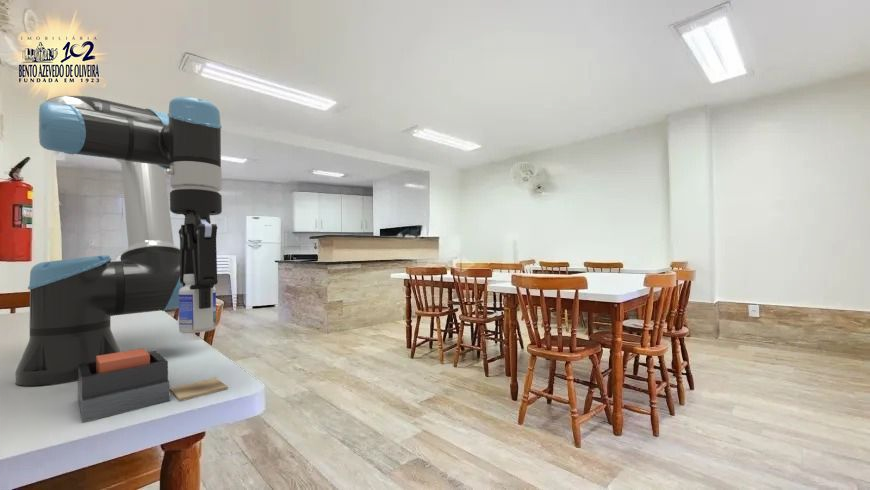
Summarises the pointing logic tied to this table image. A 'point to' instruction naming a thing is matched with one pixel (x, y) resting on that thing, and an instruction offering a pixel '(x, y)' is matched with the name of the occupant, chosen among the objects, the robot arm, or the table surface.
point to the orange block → (122, 360)
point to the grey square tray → (122, 388)
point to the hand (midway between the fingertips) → (198, 325)
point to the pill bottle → (191, 307)
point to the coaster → (197, 389)
